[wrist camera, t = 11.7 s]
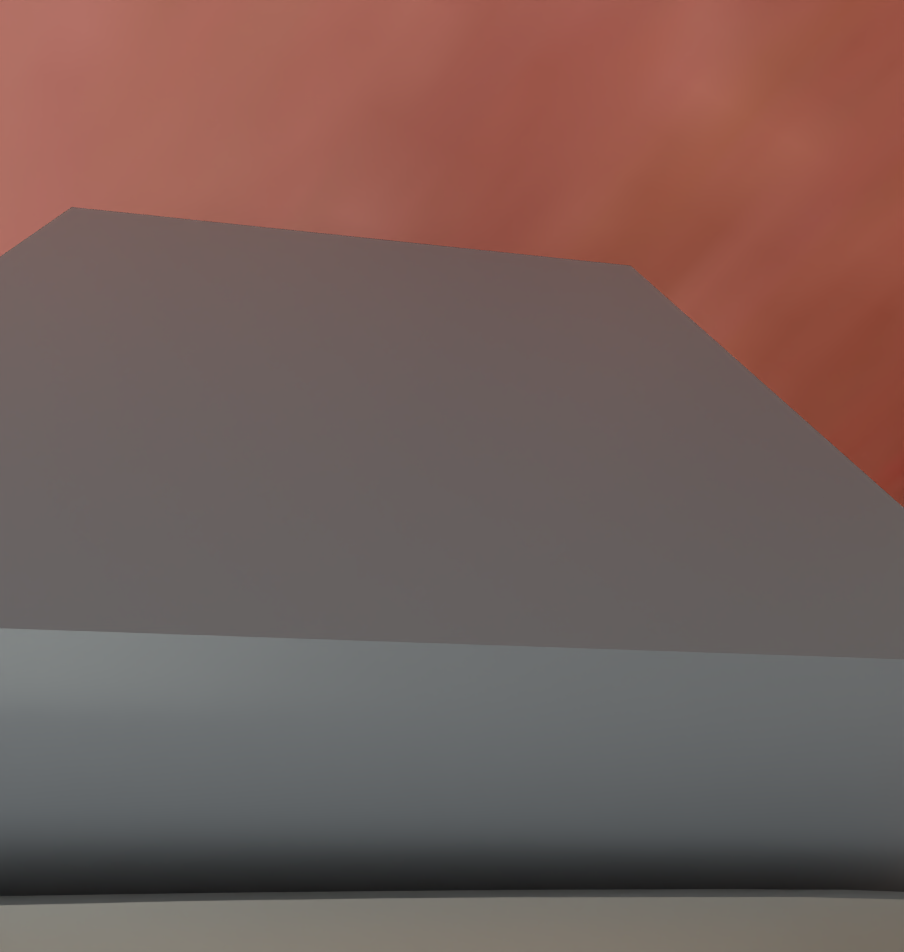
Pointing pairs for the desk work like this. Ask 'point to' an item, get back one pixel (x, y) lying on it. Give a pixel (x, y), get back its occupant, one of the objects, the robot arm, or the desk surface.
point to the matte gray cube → (421, 581)
